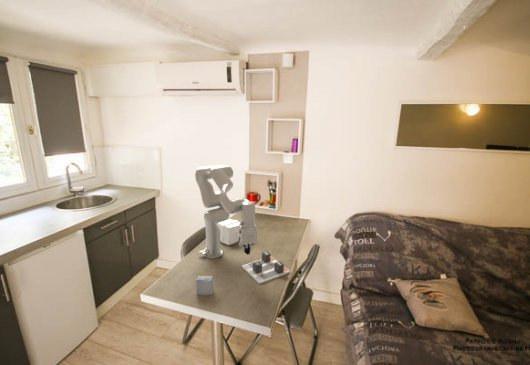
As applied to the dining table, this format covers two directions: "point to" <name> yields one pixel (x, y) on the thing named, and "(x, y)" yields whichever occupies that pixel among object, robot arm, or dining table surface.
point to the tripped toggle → (257, 267)
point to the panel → (266, 269)
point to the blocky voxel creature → (229, 231)
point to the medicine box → (204, 285)
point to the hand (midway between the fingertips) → (247, 253)
